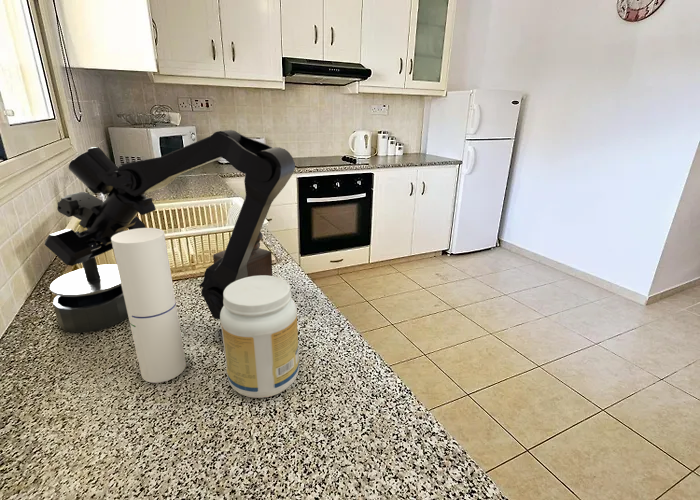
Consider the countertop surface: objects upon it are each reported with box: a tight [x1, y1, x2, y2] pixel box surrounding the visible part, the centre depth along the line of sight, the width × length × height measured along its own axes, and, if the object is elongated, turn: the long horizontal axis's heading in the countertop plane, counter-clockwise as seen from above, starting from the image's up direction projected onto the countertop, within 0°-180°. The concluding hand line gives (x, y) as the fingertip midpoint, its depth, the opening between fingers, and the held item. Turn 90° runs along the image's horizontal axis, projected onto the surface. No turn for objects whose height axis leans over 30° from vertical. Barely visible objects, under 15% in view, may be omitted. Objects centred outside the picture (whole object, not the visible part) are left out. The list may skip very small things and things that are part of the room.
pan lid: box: [49, 257, 121, 297], centre depth 77 cm, size 15×15×9 cm
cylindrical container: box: [111, 227, 187, 384], centre depth 61 cm, size 7×7×25 cm
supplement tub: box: [219, 275, 300, 399], centre depth 62 cm, size 12×12×17 cm
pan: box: [52, 286, 129, 334], centre depth 81 cm, size 14×14×5 cm
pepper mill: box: [212, 230, 273, 277], centre depth 91 cm, size 16×11×18 cm
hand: (83, 259), depth 77 cm, fingers closed on pan lid, 2 cm apart
